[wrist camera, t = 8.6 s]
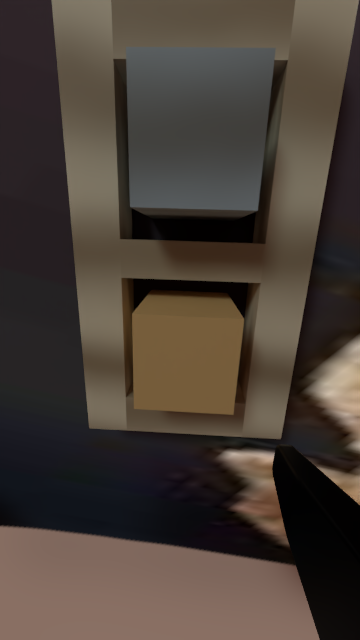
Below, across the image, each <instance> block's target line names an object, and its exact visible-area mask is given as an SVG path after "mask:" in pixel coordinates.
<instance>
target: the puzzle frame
mask: <svg viewBox="0 0 360 640" xmlns="http://www.w3.org/2000/svg"><path fill="white" fill-rule="evenodd" d="M358 2H359V0H52V9H53V21H54V32H55V43H56V55H57V66H58V78H59V89H60V100H61V112H62V123H63V135H64V146H65V157H66V169H67V180H68V191H69V203H70V214H71V226H72V237H73V248H74V260H75V271H76V283H77V294H78V305H79V317H80V328H81V340H82V351H83V362H84V374H85V385H86V396H87V408H88V419H89V428H94V429H112V430H129V431H147V432H164V433H181V434H199V435H216V436H234V437H251V438H269V439H281V436H282V430H283V424H284V419H285V413H286V407H287V402H288V396H289V391H290V385H291V379H292V374H293V368H294V362H295V357H296V351H297V346H298V340H299V334H300V329H301V323H302V317H303V312H304V306H305V300H306V295H307V289H308V284H309V278H310V272H311V267H312V261H313V255H314V250H315V244H316V239H317V233H318V227H319V222H320V216H321V210H322V205H323V199H324V194H325V188H326V182H327V177H328V171H329V165H330V160H331V154H332V149H333V143H334V137H335V132H336V126H337V120H338V115H339V109H340V103H341V98H342V92H343V87H344V81H345V75H346V70H347V64H348V58H349V53H350V47H351V42H352V36H353V30H354V25H355V19H356V13H357V8H358ZM132 208H133V209H135V210H136V211H138V212H140V213H142V214H144V215H146V216H148V217H150V218H152V219H186V220H220V221H235V220H237V219H240V218H242V217H244V216H247V215H249V214H251V213H254V212H256V216H255V225H254V234H253V243H236V242H205V241H174V240H143V239H132ZM133 278H141V279H168V280H194V281H221V282H248V290H247V299H246V308H245V317H244V326H243V336H242V345H241V354H240V363H239V372H238V379H237V387H236V396H235V404H234V413H233V415H227V414H210V413H194V412H177V411H160V410H143V409H134V389H133V337H132V313H133V312H134V283H133Z"/></svg>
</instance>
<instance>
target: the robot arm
mask: <svg viewBox="0 0 360 640" xmlns="http://www.w3.org/2000/svg"><path fill="white" fill-rule="evenodd" d="M272 470H273V477H274V482H275V486H276V491H277V495H278V500H279V504H280V509H281V513H282V518H283V523H284V527H285V531H286V535H287V538H288V542H289V545H290V548H291V551H292V555H293V558H294V561H295V564H296V567H297V570H298V573H299V576H300V579H301V583H302V585H303V588H304V592H305V595H306V598H307V601H308V604H309V607H310V610H311V613H312V616H313V620H314V623H315V626H316V629H317V632H318V635H319V638H320V640H360V505H359V504H358V503H357V502H356V501H354V500H353V499H352V498H351V497H350V496H349V495H348V494H346V493H345V492H344V491H343V490H342V489H341V488H340V487H338V486H337V485H336V484H335V483H334V482H333V481H332V480H331V479H329V478H328V477H327V476H326V475H325V474H324V473H323V472H321V471H320V470H319V469H318V468H317V467H316V466H315V465H314V464H312V463H311V462H310V461H309V460H308V459H307V458H306V457H304V456H303V455H302V454H301V453H300V452H299V451H298V450H296V449H295V448H294V447H293V446H291V445H277V447H276V450H275V456H274V461H273V468H272Z"/></svg>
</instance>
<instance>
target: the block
mask: <svg viewBox="0 0 360 640" xmlns="http://www.w3.org/2000/svg"><path fill="white" fill-rule="evenodd" d="M243 326H244V318H243V317H242V315H241V313H240V312H239V310H238V309H237V307H236V306H235V304H234V303H233V301H232V300H231V298H230V296H229V295H228V293H220V292H198V291H175V290H153V289H152V290H151V291H150V292H149V294H148V295H147V296H146V297H145V298H144V300H143V301H142V302H141V303H140V305H139V306H138V307H137V308H136V310H135V311H134V312H133V313H132V337H133V389H134V409H143V410H160V411H177V412H194V413H210V414H227V415H233V413H234V404H235V396H236V387H237V378H238V369H239V361H240V352H241V343H242V334H243Z"/></svg>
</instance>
